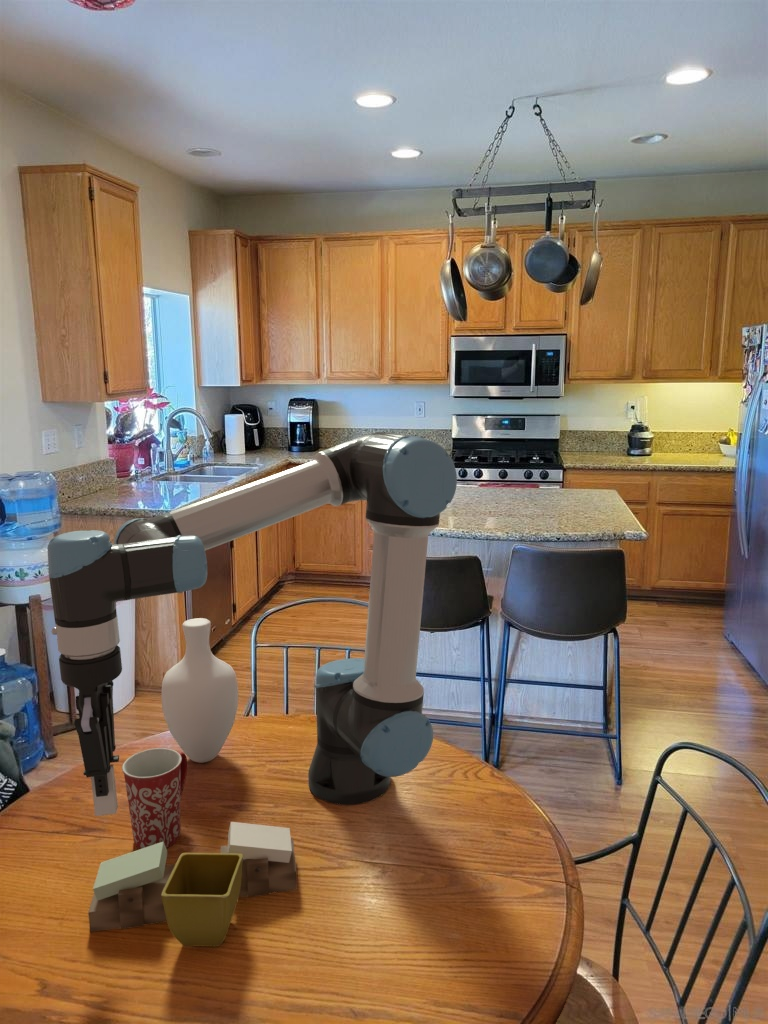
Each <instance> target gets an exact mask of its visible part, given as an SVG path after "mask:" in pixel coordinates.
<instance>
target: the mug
mask: <svg viewBox="0 0 768 1024" xmlns="http://www.w3.org/2000/svg"><path fill="white" fill-rule="evenodd" d="M187 758H188V757H187V755H186V754H185V753H184V751H176V750H174V749H172V748H165V747H162V748H161V747H155V748H148V749H145V750H141V751H139V752H136V753H134V754H132V755H130V756H129V757H127V759H126V760H125V761H124V762H123V764H122V767H121V770H122V773H123V775H124V783H125V788H126V789H125V790H126V796H127V802H128V810H129V815H130V816H129V817H130V823H131V829H132V830H131V831H132V837H133V842H134V845H135V847H136V848H138V850H139V849H142V848H145V847H148V846H151V845H154V844H157V843H160V842H164V844H165V847H166V849H167V848H169V847H172V846H173V845H174V844H175V843H176V842H177V841H179V839H180V836H181V831H182V830H181V823H182V822H181V797H182V794H183V791H184V786H185V782H186V778H187V771H188V759H187Z"/></svg>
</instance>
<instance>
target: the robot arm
mask: <svg viewBox="0 0 768 1024" xmlns="http://www.w3.org/2000/svg"><path fill="white" fill-rule="evenodd" d="M456 469H457V468H456V467H455V463H454V461H453V459H452V457H451V456H450V454H449V453H448V451H447V450H446V449H445V448H444V447H443V446H442V445H440V444H439V443H437V442H436V441H433V440H431V439H426V438H424V437H423V436H419V435H418V436H417V435H407V434H406V435H405V434H396V433H395V434H394V433H390V432H383V431H382V432H381V431H377V432H371V433H367V434H363V435H361V436H357V437H355V438H353V439H350V440H347V441H344V442H342V443H339V444H337V445H334V446H331V447H328V448H326V449H324V450H321V451H318V452H316V453H315V454H314V456H313V459H312V460H311V461H308V462H305V463H302V464H300V465H297V466H294V467H292V468H291V467H290V468H289V469H286V470H283V471H280V472H278V473H275V474H272V475H270V476H267V477H263V478H261V479H258V480H255V481H252V482H249V483H246V484H244V485H242V486H238V487H236V488H233V489H230V490H227V491H225V492H224V491H223V492H221V493H219V494H215V495H214V496H211V497H208V498H204V499H202V500H199V501H197V502H194V503H191V504H189V505H186V506H182V507H180V508H177V509H174V510H172V511H169V512H167V513H164V514H160V515H157V516H155V517H152V518H149V519H148V518H134V519H133V518H132V519H130V520H127V521H126V522H124V523H122V525H121V526H120V527H119V528H118V530H117V531H116V533H115V536H114V539H113V543H112V542H111V539H110V536H109V534H108V533H107V532H105V531H103V530H96V529H90V530H74V531H68V532H64V533H61V534H58V535H55V536H54V537H53V538H51V539H50V541H49V542H48V544H47V561H48V562H47V563H48V571H47V572H48V580H49V586H50V587H49V588H50V595H51V601H52V603H51V604H52V609H53V610H52V611H53V615H54V616H53V617H54V625H55V626H54V627H52V628H51V634H52V635H55V636H56V642H57V650H58V652H59V653H60V655H59V657H58V664H59V671H60V679H61V682H62V683H63V684H64V685H65V686H67V687H69V688H70V687H72V688H75V689H76V690H78V695H76V696H75V707H76V708H75V709H76V710H77V711H78V718H75V719H74V728H75V731H76V732H77V735H78V741H79V746H80V752H81V755H82V760H83V761H82V762H83V767H84V770H83V776H85V777H86V778H90V782H91V790H92V799H93V808H94V816H95V817H99V816H107V815H114V814H117V811H118V808H119V807H118V806H119V805H118V797H117V796H118V795H117V786H116V776H115V766H114V764H111V763H118V762H119V759H120V755H119V754H116V755H114V752H115V751H116V748H117V746H116V737H115V734H116V733H115V721H114V719H115V717H114V700H113V698H114V697H113V695H114V682H113V681H114V680H116V679H117V678H118V677H119V676H121V673H122V671H123V666H122V665H123V664H122V653H121V652H122V651H121V648H120V646H118V645H119V644H120V641H121V639H120V630H119V621H118V619H119V618H118V613H117V603H118V602H123V601H130V600H135V599H136V600H137V599H143V598H150V597H157V596H163V595H165V596H166V595H170V594H182V593H184V592H187V591H192V590H197V589H200V588H202V587H203V586H204V585H205V584H206V582H207V579H208V561H207V560H208V559H207V554H206V551H208V550H210V549H213V548H215V547H218V546H221V545H223V544H226V543H229V542H232V541H234V540H236V539H240V538H242V537H245V536H247V535H250V534H251V533H255V532H257V531H260V530H262V529H266V528H267V527H271V526H274V525H275V524H279V523H280V522H284V521H286V520H289V519H291V518H293V517H296V516H299V515H302V514H304V513H307V512H309V511H312V510H315V509H317V508H320V507H322V506H325V505H331V506H333V507H340V506H342V505H345V504H347V503H350V502H356V501H366V507H365V521H366V522H367V523H368V524H369V526H371V528H372V529H373V542H372V556H371V567H370V568H371V570H370V582H369V583H370V584H369V594H368V595H369V597H368V607H367V608H368V609H367V621H366V632H365V633H366V635H365V645H364V646H365V648H364V649H365V650H364V658H363V657H362V658H361V657H359V658H357V657H352V658H349V657H348V658H343V659H336V660H333V661H330V662H327V663H324V664H323V665H321V666H320V667H319V668H318V669H317V671H316V674H315V685H314V688H315V703H316V704H315V706H316V707H315V710H316V714H315V715H316V734H317V736H316V737H317V738H316V747H315V750H314V753H313V757H312V758H311V762H310V765H309V768H308V775H307V776H308V777H307V779H308V788H309V790H310V792H311V793H312V794H313V795H314V796H315V797H316V798H318V799H320V800H321V801H324V802H327V803H330V804H334V805H335V804H336V805H341V806H342V805H344V806H345V805H346V806H350V805H351V806H353V805H359V804H365V803H368V802H372V801H374V800H376V799H378V798H380V797H382V796H383V795H385V793H386V792H387V791H388V790H389V788H390V786H391V783H392V781H391V778H395V777H401V776H404V775H406V774H408V773H410V772H411V771H413V770H414V769H416V768H417V766H418V765H419V764H420V763H421V762H423V761H424V760H425V758H426V757H427V756H428V754H429V752H430V751H431V749H432V745H433V741H434V729H433V725H432V723H431V721H430V719H429V718H428V717H427V716H426V714H424V713H423V706H424V696H425V695H424V694H425V689H424V688H425V687H424V686H423V685H422V683H420V681H418V679H417V667H418V658H419V657H418V655H419V644H420V633H421V623H422V621H421V620H422V611H423V601H424V586H425V576H426V566H427V553H428V542H429V535H430V534H431V533H432V532H433V531H434V530H435V529H436V528H438V527H439V526H440V518H441V517H440V516H441V513H442V512H443V511H445V510H446V509H447V506H448V505H449V504H451V503H452V501H453V499H454V496H455V495H456V490H457V484H458V477H457V476H458V475H457V470H456Z"/></svg>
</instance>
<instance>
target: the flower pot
mask: <svg viewBox="0 0 768 1024" xmlns="http://www.w3.org/2000/svg"><path fill="white" fill-rule="evenodd" d="M242 863H243V855H242V854H239V853H220V852H219V853H218V852H213V853H212V852H182V853H181V854H180V855H179V857H178V858H177V861H176V863H174V864H175V867H174V869H173V871H172V873H171V875H170V877H169V879H168V881H167V883H166V885H165V887H164V889H163V891H162V894H161V896H162V901H163V906H164V910H165V915H166V919H167V922H166V923H167V927H168V928H169V929H168V930H169V931H170V932H171V934H172V935H173V936H174V938H175V939H176V940H177V941H178V942H179V943H181V945H182V946H185V947H188V946H189V947H219V946H221V945H222V944H223V942H224V941H225V938H226V936H227V934H228V931H229V927H230V925H231V921H232V918H233V915H234V913H235V911H236V910H235V909H236V907H237V904H238V900H239V898H240V897H239V893H240V887H241V876H242Z"/></svg>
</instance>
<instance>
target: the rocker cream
mask: <svg viewBox="0 0 768 1024" xmlns="http://www.w3.org/2000/svg"><path fill="white" fill-rule="evenodd" d="M290 829H291V828H290V827H283V826H272V825H267V824H266V825H264V824H256V823H245V822H238V821H237V822H236V821H230V824H229V829H228V833H227V835H228V836H227V845H228V853H239V854H242V855H243V858H245V859H262V858H268V861H276V862H286V863H289V861H290V857H291V852H292V848H291V838H292V837H291V830H290Z"/></svg>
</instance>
